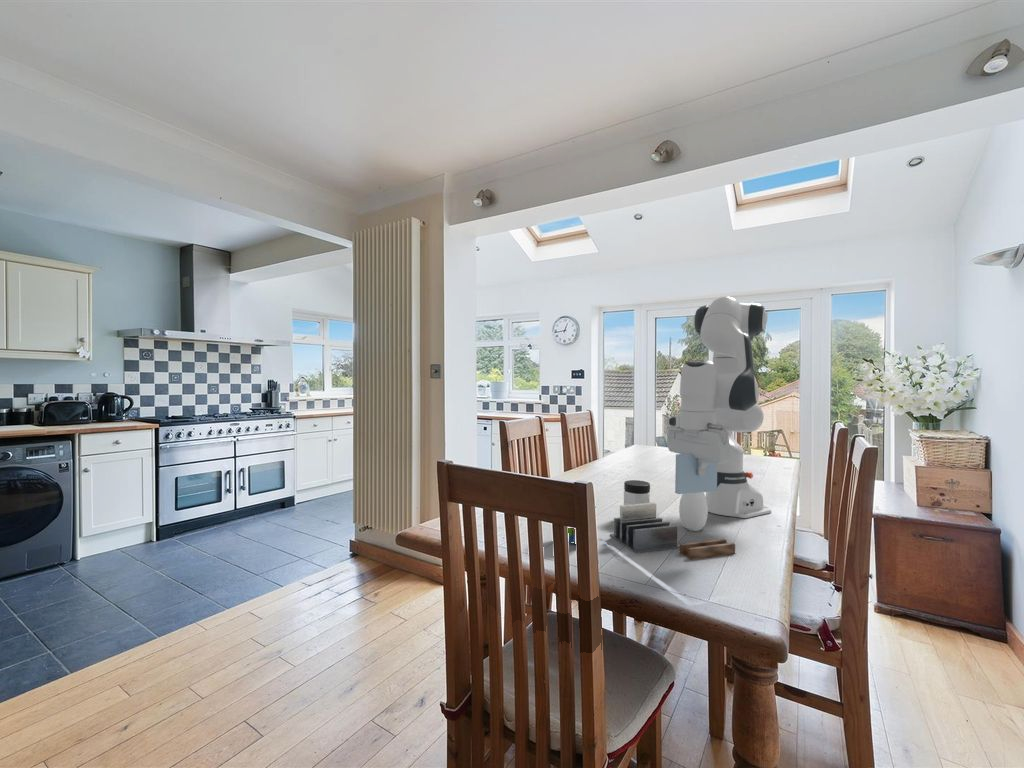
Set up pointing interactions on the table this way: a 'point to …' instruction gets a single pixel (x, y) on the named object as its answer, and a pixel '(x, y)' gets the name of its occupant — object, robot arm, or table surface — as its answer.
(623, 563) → the table surface
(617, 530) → the dish rack
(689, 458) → the plate
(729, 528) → the table surface
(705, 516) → the sauce bottle
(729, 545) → the plate stand
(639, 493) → the jar
